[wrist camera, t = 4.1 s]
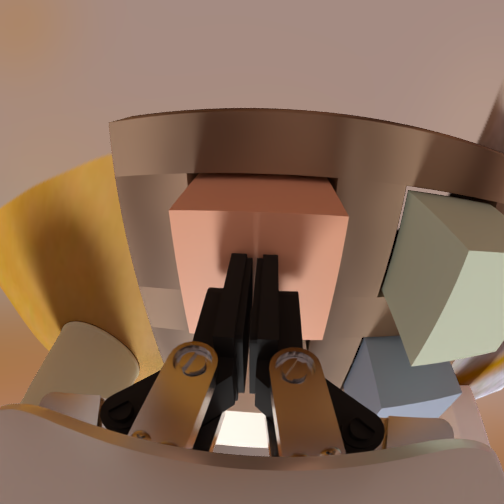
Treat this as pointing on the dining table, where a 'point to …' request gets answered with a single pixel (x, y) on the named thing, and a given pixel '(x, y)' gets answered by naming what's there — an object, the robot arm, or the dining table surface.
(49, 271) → the dining table surface
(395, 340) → the slate-blue block
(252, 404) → the cream block
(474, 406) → the milk
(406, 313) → the sage block
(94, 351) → the can
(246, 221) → the terracotta block
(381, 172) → the walnut frame
